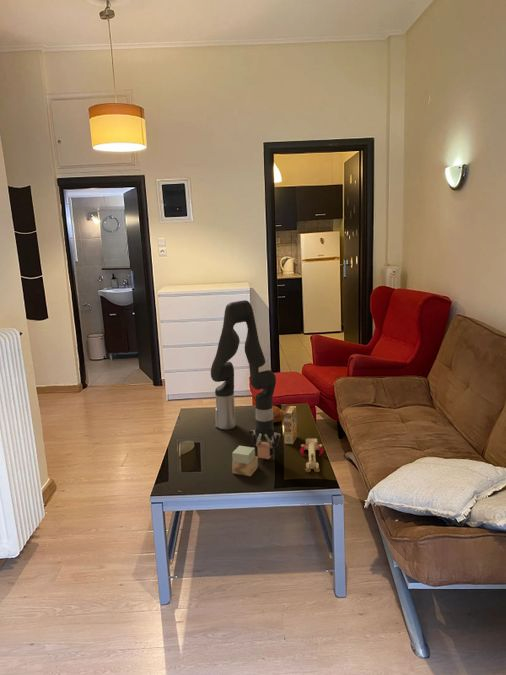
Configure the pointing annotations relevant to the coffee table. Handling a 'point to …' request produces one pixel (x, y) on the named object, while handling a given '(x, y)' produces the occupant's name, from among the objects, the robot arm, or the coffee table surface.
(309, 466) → the beige elongated piece
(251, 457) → the sage block
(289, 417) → the candy box
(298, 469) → the coffee table surface
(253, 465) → the oak block
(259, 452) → the terracotta cube
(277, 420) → the bread roll
